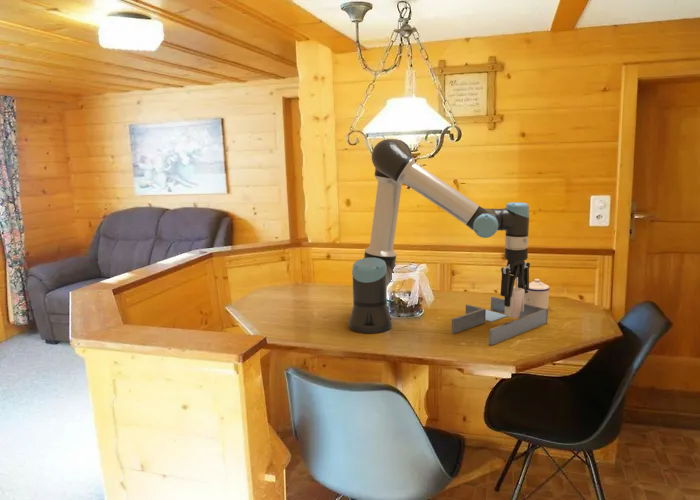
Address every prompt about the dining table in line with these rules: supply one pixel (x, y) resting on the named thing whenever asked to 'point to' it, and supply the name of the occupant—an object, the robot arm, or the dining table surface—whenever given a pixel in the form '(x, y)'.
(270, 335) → the dining table surface
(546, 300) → the teacup with lid
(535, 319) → the channel
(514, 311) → the smoothie
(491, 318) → the pad
